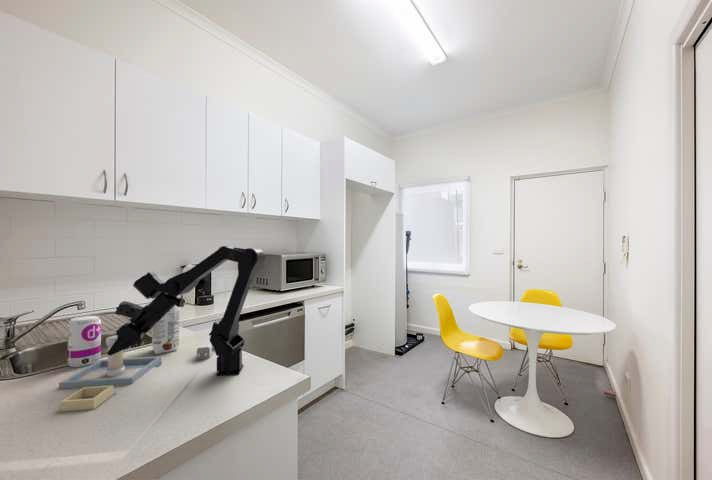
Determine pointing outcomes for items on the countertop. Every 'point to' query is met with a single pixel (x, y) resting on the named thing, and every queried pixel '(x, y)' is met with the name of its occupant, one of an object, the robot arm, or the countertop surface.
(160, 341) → the juice carton
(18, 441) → the countertop surface
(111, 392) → the yellow rectangular frame
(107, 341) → the pale spool-shaped piece
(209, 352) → the usb wall charger
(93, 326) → the supplement can
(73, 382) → the tray
